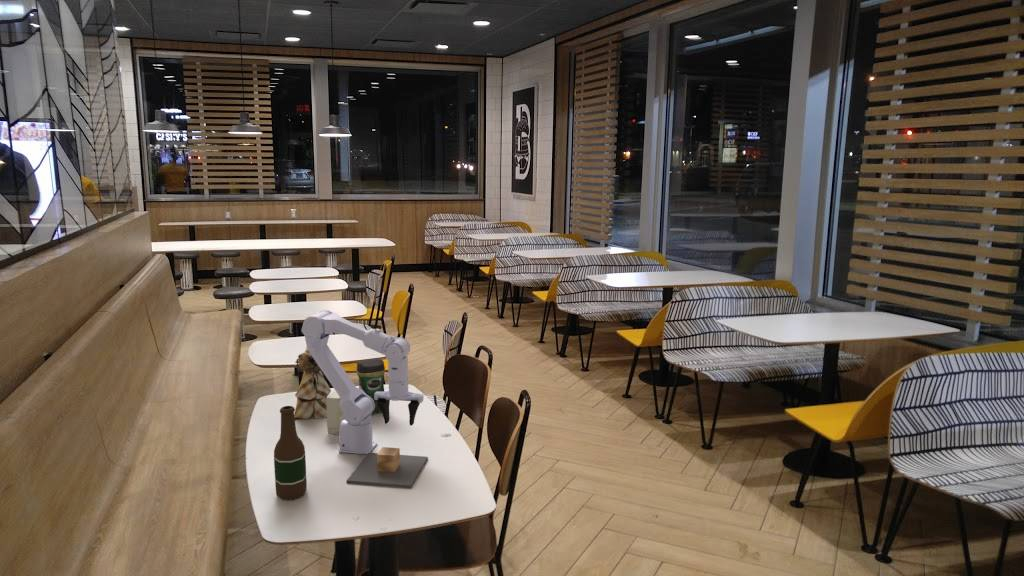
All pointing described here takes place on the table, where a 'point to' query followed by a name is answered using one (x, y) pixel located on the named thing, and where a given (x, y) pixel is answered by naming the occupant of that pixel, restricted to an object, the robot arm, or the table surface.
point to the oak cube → (388, 459)
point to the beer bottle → (289, 459)
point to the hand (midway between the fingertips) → (399, 423)
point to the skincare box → (334, 413)
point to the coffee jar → (371, 377)
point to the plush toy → (311, 389)
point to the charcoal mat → (399, 478)
